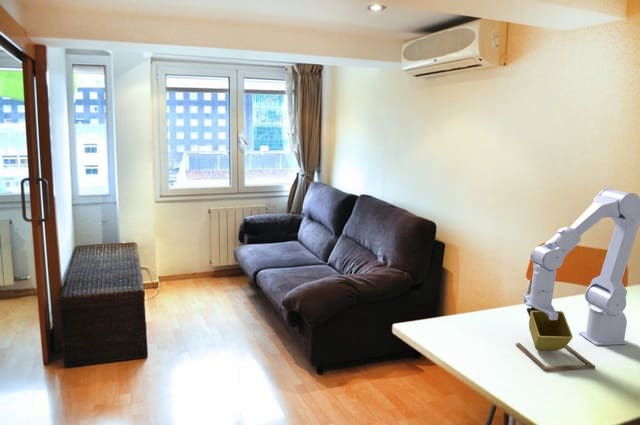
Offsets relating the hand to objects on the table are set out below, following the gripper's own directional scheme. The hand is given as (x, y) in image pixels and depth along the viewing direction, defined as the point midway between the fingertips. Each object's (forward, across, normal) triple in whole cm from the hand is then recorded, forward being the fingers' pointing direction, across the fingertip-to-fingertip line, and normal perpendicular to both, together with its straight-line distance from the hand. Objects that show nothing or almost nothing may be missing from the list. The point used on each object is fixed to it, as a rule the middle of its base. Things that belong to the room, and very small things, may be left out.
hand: (535, 333), depth 138 cm
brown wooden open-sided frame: (+3, +8, +1) cm, 9 cm away
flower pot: (+2, +3, +1) cm, 4 cm away
